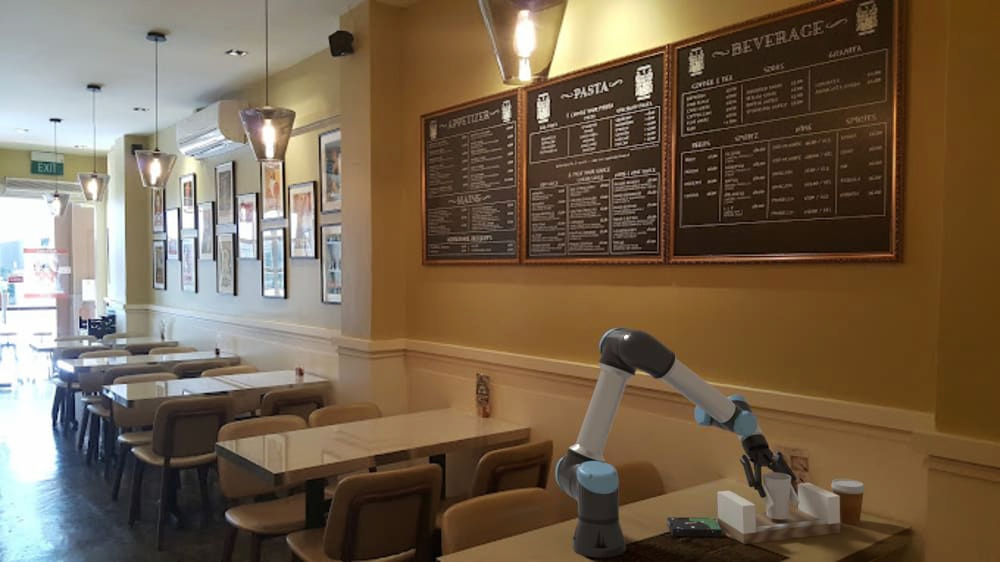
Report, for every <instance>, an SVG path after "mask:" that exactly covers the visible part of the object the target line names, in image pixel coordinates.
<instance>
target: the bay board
mask: <svg viewBox="0 0 1000 562" xmlns="http://www.w3.org/2000/svg"><path fill="white" fill-rule="evenodd" d="M755 515H756V532H755V533H747V534H743V533H741V532H740V531H738V530H737V529H735V528H733V527H732V526H730V525H729V524H727V523H725V522H724V521H722V520H721V519H719V518H718V517H717V522H718V523H719V525H720V527H721V528H722V532H724V533H725V534H727V535H729V536H731V537H732V538H733V539H735V540H737V542H739V541H740V542H739V543H740V544H742V543H743V545H749V543H750V544H757V543H765V542H767V543H768V542H773V541H782V540H791V539H793V540H794V539H798V538H801V539H802V538H807V537H808V538H809V537H816V536H825V535H834V534H835V535H836V534H840V533H841V522H840V523H834V524H827V521H826V520H824V519H821V520H819V519H817V518H815V517H813V516H811V515H809V514H807V513H805V512H803V511H801V510H799V509H798V508H797V509H796V508H795V509H789V518H787V519H774V518H770V517H768V516H767V514H766V512H759V513H758V512H757V513H755Z"/></svg>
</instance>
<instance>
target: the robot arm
mask: <svg viewBox="0 0 1000 562" xmlns="http://www.w3.org/2000/svg"><path fill="white" fill-rule="evenodd" d="M598 346H599V347H598V349H599V354H600V358H599V361H598V366H599V368H600V373H599V375H598V379H597V382H596V385H595V387H594V389H593V394H592V397H591V398H590V403H589V406H588V407H587V410H586V413H585V416H584V419H583V422H582V423H581V424H582V425H581V428H580V431H579V433H578V435H577V439H576V442H575V443H574V444H573V445H571V446H569V447H568V448H567V452H566V454H565V455H564V456H563V457H561V458H560V459H559V460H558V462H557V463H556V467H555V470H554V474H555V475H554V476H555V480H556V482H557V485H558V486H559V488H560V489H561V491H563V492H564V493H565V494H566V495H568V496H570V497H571V498H573V499H574V500H575V501H577V517H578V518H577V519H578V520H577V523H576V527H575V531H574V534H573V537H572V549H573V550H574V551H575V552H576V553H578V554H579V555H582V556H585V557H590V558H597V559H598V558H599V559H603V558H604V559H605V558H613V557H617V556H620V555H622V554H624V552H626V549H627V546H626V545H627V541H626V538H625V536H624V533H623V529H622V526H621V523H620V504H619V503H620V502H619V501H620V499H619V498H620V497H619V496H620V495H619V492H620V491H619V490H620V489H619V487H620V480H619V475H618V471H617V469H616V468H615V466H613V465H611V464H610V463H607V462H606V460H605V457H604V455H603V453H604V449H605V446H606V443H607V441H608V438H609V435H610V433H611V429H612V426H613V424H614V421H615V417H616V415H617V413H618V412H617V411H618V409H619V406H620V403H621V400H622V397H623V395H624V392H625V388H626V386H627V384H628V381H629V380H630V379H632V378H634V377H635V374H636V372H637V370H639V371H640V372H644V373H645V374H647V375H649V376H651V378H654V379H655V380H662V381H663V382H664V383H666V384H667V385H668V386H670V387H671V388H672V389H674V390H675V391H676V392H678V393H679V394H680V395H682V396H683V397H684V398H686V399H687V400H689V401H690V402H691V403H693V404H694V405H695V408H694V419H695V422H696V423H697V424H698V425H699V426H702V427H703V426H704V427H714V428H715V427H716V428H718V429H721V430H723V431H727V432H730V433H732V434H736V435H737V437H738V440H739V442H740V444H741V446H742V448H743V450H744V453H745V454H743V455H742V456H741V457H740V459H739V461H740V463H741V464H742V467H743V470H744V473H745V477H746V481H747V484H748V487H749V488H753V489H754V490H755V491H757V492H758V495H759V496H760V498H761V499H763V501H764V502H765V506H766V505H767V507H768V509H771V508H772V507H773V506H774V503H773V500H772V498H771V496H770V494H769V492H768V490H767V488H766V486H765V485H764V484H763V474H762V467H766V468H768V469H769V470H770V471H771V472H776V473H784V474H787V475H790V476H791V487H790V501H791V504H792V505H793V507H798V504H799V503H800V501H799V499H798V490H797V489H796V487H795V484H794V483H795V482H796V480H797V478H798V477H797V476H796V474H795V473H794V472H793V470H792V469H791V467H790V466H789V464H788V463H787V462H786V460H785V459H784V456H783V453H782V452H781V451H778V452H773V451H772V450H771V449H770V447H769V443H768V440H767V439H766V436H765V435H764V432H763V431H762V428H761V426H760V424H759V423H758V418H757V417H756V415H755V414H754V413H753V410H752V408H751V406H750V404H749V403H748V401H747V399H746V398H745V397H744V396H743V395H741V394H733V395H730V396H728V397H726V396H725V395H724V394H723V393H721V392H720V391H719V390H718V389H716V388H715V387H713V386H712V385H711V384H710V383H708V382H707V381H706V380H705V379H703V377H700V376H699V375H698V374H697V373H695V372H694V371H693V370H691V369H690V368H689V367H688V366H687V365H685V364H684V363H682V362H681V361H680V360H679V359H677V355H676V352H674V351H673V350H671V349H670V348H669V347H667V346H666V345H665V344H663V343H662V342H661V341H660V340H659V339H658V338H656V337H654V336H653V335H651V334H650V333H648V332H647V331H644V330H641V329H634V328H633V329H632V328H627V327H617V328H616V327H615V328H611V329H610V330H608V331H606V332H605V333H604V334H603V335H602V337H601V339H600V340H599V344H598ZM751 463H752V464H753V467H752V465H751ZM753 471H754V472H753Z"/></svg>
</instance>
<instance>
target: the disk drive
mask: <svg viewBox="0 0 1000 562" xmlns="http://www.w3.org/2000/svg"><path fill="white" fill-rule="evenodd" d="M666 518H667V519H666V521H667V523H666V524H667V526H668V529H669V531H670V534H671V536H672V537H708V536H722V537H723V530H722V528H721V527H720V525H719V523H718V520H717V519H716V518H712V517H674V516H673V517H666Z"/></svg>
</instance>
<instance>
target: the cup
mask: <svg viewBox="0 0 1000 562" xmlns="http://www.w3.org/2000/svg"><path fill="white" fill-rule="evenodd" d="M762 482H763V485H765V486H766V488H767V490H768V492H769V494H770V496H771V498H772V500H773V503H774V506H773V507H772V508H771V509H768V507H767V505H766V504H765V510H766V512H765V513H766V514H767V516H768V517H770V518H774V519H787V518H789V510H790V501H791V499H790V487H791V476H790V475H787V474H784V473H776V472H773V471H771V472H765V473H763V474H762Z"/></svg>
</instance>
